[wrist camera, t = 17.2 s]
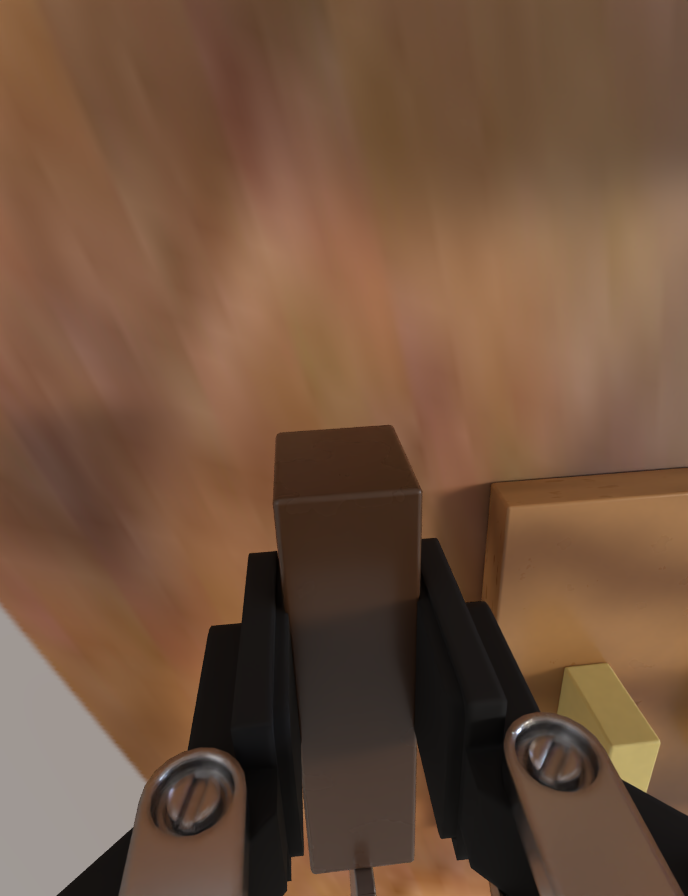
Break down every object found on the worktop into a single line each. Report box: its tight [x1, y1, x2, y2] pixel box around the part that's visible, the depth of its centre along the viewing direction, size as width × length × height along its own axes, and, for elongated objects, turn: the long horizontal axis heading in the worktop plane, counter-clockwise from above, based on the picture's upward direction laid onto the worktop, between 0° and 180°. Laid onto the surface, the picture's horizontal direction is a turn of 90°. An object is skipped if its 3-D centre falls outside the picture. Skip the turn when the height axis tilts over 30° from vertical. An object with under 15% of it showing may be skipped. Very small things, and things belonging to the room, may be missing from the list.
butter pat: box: [557, 663, 661, 792], centre depth 19 cm, size 7×2×3 cm, turn 2°
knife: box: [273, 425, 422, 896], centre depth 13 cm, size 19×2×3 cm, turn 2°
